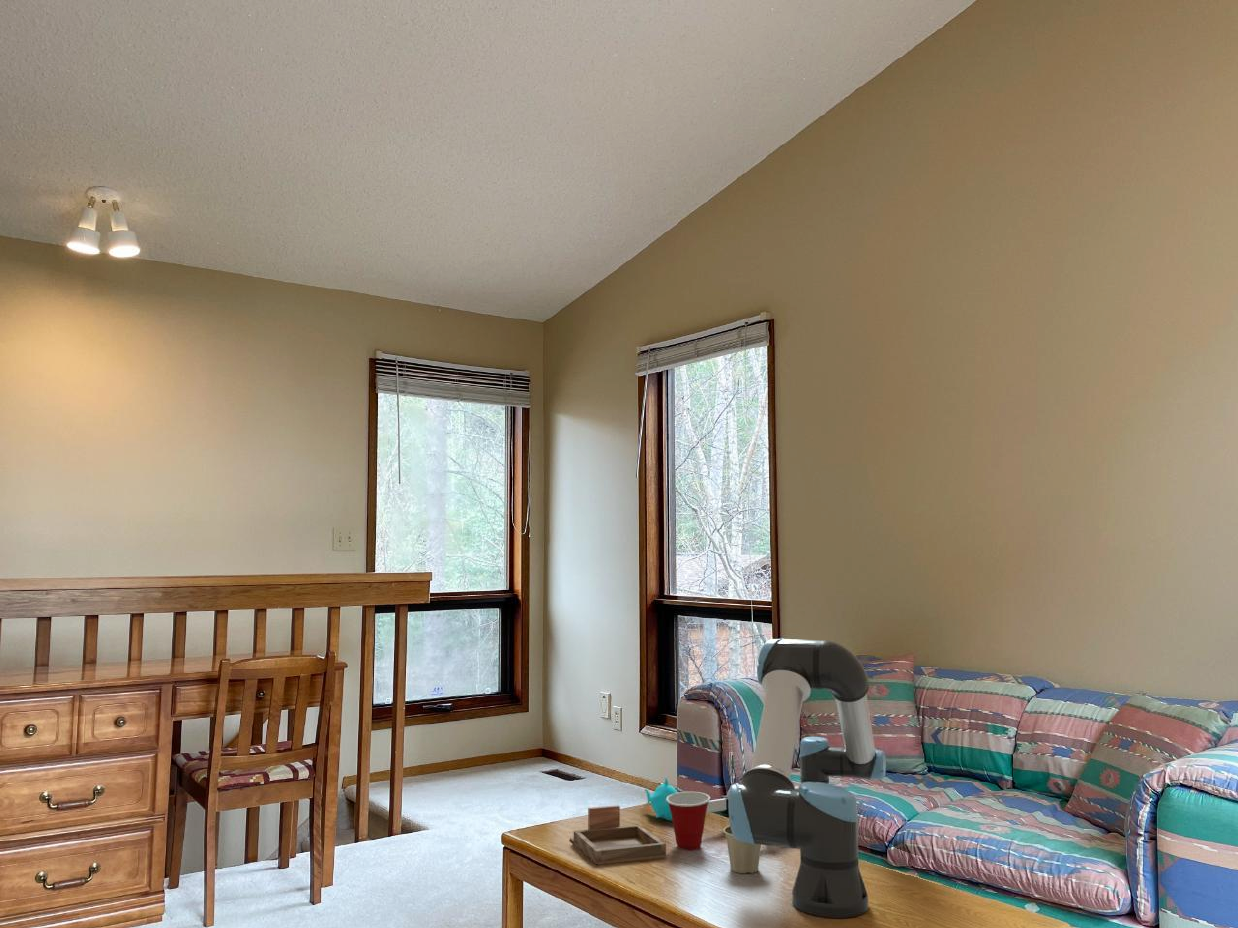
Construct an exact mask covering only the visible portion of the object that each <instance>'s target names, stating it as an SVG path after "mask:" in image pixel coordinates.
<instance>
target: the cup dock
mask: <svg viewBox="0 0 1238 928" xmlns="http://www.w3.org/2000/svg"><path fill="white" fill-rule="evenodd" d="M620 807H621V806H620V805H607V806H595V807H594V806H593V807H588V808H587V813H588V815H587V816H588V817H587V829H582V830H573V837H569V841H570V840H571V841H572V842H573V843H574V844H573V843H572V842H571V841H570V842H571V843H572V844H573V845H575V846H576V847H577V849H578V850H580V852H582V853H583V854H584V855H585V856H586V855H587V856H588V857H589V858H590V860H591V861H592V862H593V863H594V862H595V863H594V864H595V865H596V864H598V865H606V864H605V863H607V864H615V863H622V862H623V863H624V862H632V861H634V862H635V861H641V860H649V859H650V860H651V859H659V858H661V859H662V858H666V857H667V844H666V842H664V841H662V840H661V839H659V837H657V836H656V835H654V834H653V833H651V832H650V831H649V830H647V829H646V828H644V827H643V826H642V825H640V824H634V825H623V826H621V824H620V822H621V820H620V819H621V818H620V812H621V810H620V809H621V808H620ZM587 856H586V857H587ZM588 857H587V858H588ZM589 858H588V859H589Z"/></svg>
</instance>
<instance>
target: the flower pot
mask: <svg viewBox="0 0 1238 928" xmlns="http://www.w3.org/2000/svg"><path fill="white" fill-rule="evenodd" d="M722 831H723V834H725V839H726V843H727V849H728V858H729V864H730V869H731V870H732V872H735V873H739V874H747V873H750V874H753V873H756V872H757V871H758V870H759V864H760V856H761V848H762V845H760V844H755V845H753V844H752V843H745V842H740V841H738V840H736V839H735V838H734V836H733V834H732V831H731V827H730V825H727V826H726V827H724V828H723V829H722Z"/></svg>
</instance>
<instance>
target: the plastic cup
mask: <svg viewBox="0 0 1238 928" xmlns="http://www.w3.org/2000/svg"><path fill="white" fill-rule="evenodd" d="M677 792H678V791H677ZM710 799H711V795H709V794H707V793H705V792H700V791H680V792H678V793H675V794H671V795H669V796H668V797H667V799H666V801H667V802H668V804H669V807H670V811H671V815H672V821H671V822H672V826H673V831H674V836H675V837H674V838H675V842H676V845H677V848H678V849H681V850H686V851H692V850H693V851H694V850H699V849H701V845H702V840H703V835H704V830H705V822H706V815H707V813H706V811H707V806H708V802H709V801H711V800H710Z"/></svg>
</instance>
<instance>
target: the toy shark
mask: <svg viewBox="0 0 1238 928" xmlns="http://www.w3.org/2000/svg"><path fill="white" fill-rule="evenodd" d="M644 790H645V793H646V797H647V802H646V803H647V804H650V806H651V808H652V810H653V811H654V812H655V813H656V816H655V818H659V817H660V818H662V819H664V820H667V821H671V822H673V821H672V815H671V811H670V807H669V804H668V802H667V801H666V799H667V797H668V796H669V795H671V794H675V793H678V790H677V789H676V788H675V787H674V786H672V785H670V784H669V782H668V778H667V777H665V779H664V783H663V784H659V785H658V786H657V787H656V789H655V790H654V791H653V792H652V794H650V792H649V790H648V789H647V788H645V789H644Z"/></svg>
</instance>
